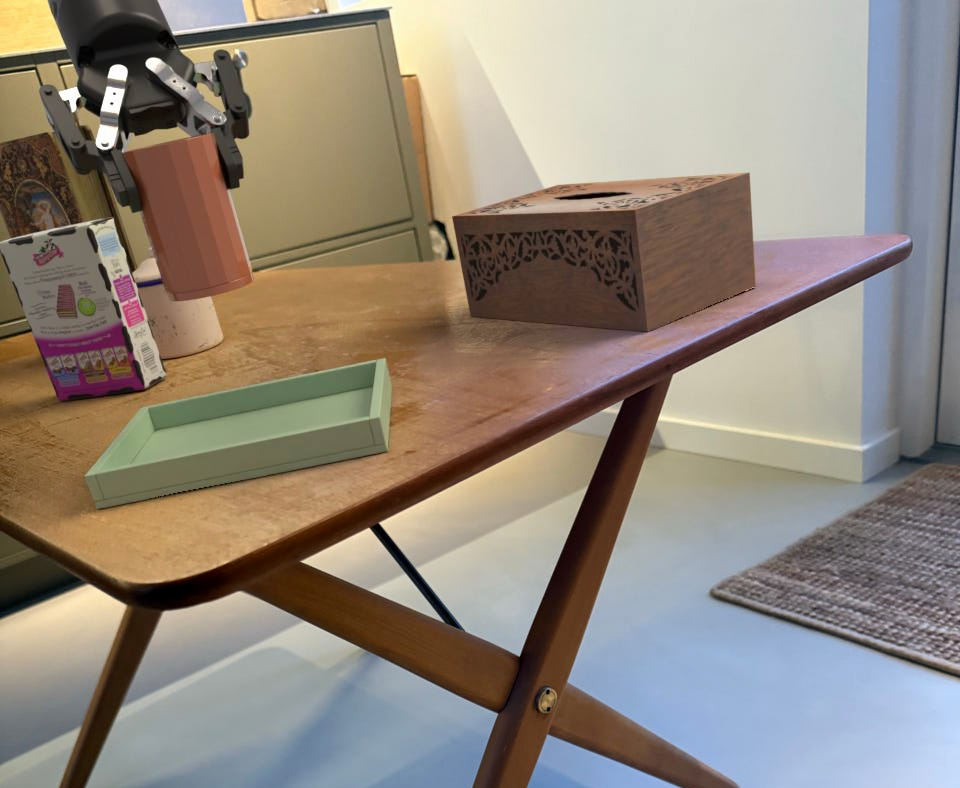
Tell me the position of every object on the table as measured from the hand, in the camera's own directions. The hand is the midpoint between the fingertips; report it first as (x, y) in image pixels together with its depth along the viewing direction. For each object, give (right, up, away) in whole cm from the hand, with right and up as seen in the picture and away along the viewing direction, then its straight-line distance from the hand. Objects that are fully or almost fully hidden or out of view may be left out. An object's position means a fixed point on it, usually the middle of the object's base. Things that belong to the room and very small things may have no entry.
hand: (185, 191), depth 72 cm
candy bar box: (-19, -5, +38) cm, 43 cm away
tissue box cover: (+33, +2, +31) cm, 45 cm away
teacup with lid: (-15, +3, +50) cm, 53 cm away
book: (-27, +6, +60) cm, 66 cm away
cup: (+1, -5, +5) cm, 7 cm away
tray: (+3, -16, +10) cm, 19 cm away
